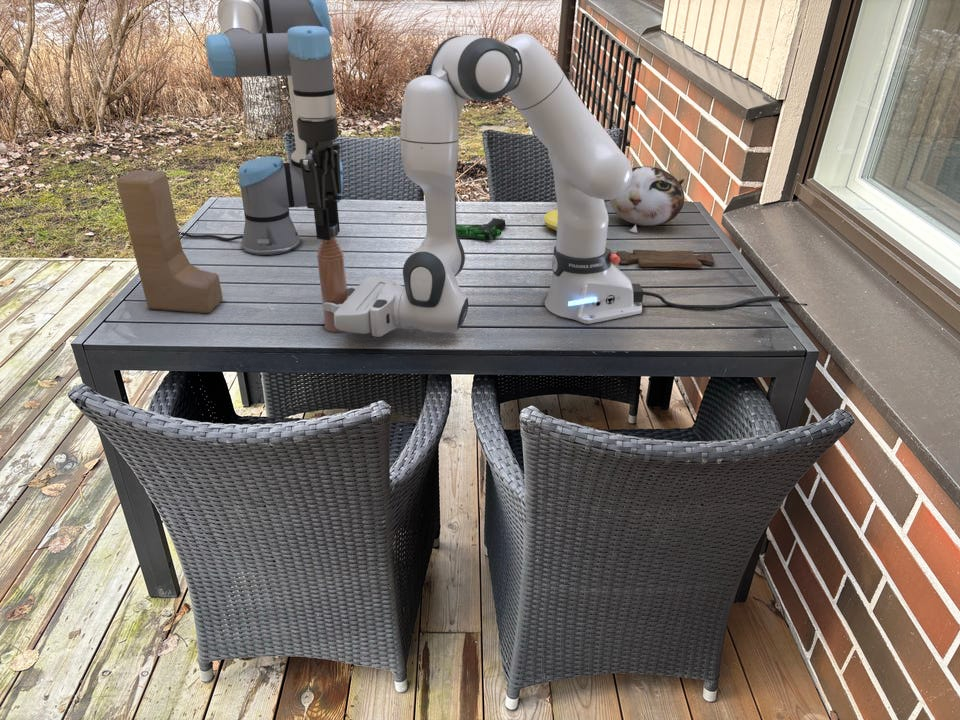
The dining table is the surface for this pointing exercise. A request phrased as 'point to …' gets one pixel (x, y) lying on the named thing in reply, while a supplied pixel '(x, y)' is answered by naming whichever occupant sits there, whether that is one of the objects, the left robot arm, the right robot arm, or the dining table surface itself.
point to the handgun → (482, 230)
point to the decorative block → (163, 247)
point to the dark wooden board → (665, 258)
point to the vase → (551, 219)
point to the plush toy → (650, 198)
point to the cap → (333, 228)
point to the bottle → (331, 278)
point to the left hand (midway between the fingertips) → (328, 234)
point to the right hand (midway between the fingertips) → (330, 298)
